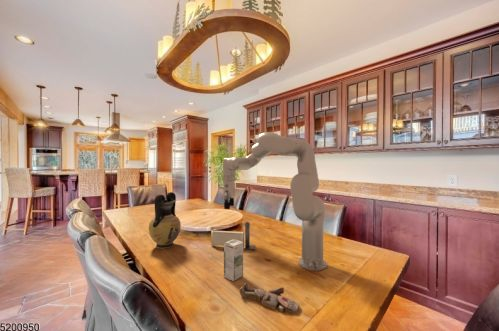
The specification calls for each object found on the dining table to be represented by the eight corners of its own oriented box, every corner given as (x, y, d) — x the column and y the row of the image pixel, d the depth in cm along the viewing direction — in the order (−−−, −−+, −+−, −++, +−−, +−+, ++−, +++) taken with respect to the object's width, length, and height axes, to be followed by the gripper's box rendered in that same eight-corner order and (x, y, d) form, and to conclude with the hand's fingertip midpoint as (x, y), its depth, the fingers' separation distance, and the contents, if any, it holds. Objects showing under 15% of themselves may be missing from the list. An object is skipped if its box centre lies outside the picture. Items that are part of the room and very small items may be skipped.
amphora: (170, 253, 118) (169, 195, 117) (141, 250, 121) (141, 195, 121) (186, 241, 135) (185, 191, 135) (160, 239, 139) (160, 190, 138)
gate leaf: (243, 247, 123) (243, 233, 123) (211, 245, 126) (210, 231, 126) (244, 246, 125) (244, 232, 125) (212, 244, 128) (212, 230, 128)
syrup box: (233, 272, 97) (233, 238, 97) (243, 276, 94) (243, 241, 93) (223, 277, 93) (223, 242, 93) (234, 282, 89) (233, 245, 89)
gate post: (253, 250, 121) (253, 223, 120) (244, 250, 122) (243, 223, 121) (255, 247, 125) (255, 221, 125) (245, 246, 126) (245, 220, 126)
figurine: (247, 276, 84) (301, 291, 75) (247, 289, 84) (300, 306, 75) (238, 286, 78) (295, 304, 69) (238, 300, 78) (295, 320, 69)
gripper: (231, 179, 125) (231, 210, 125) (238, 177, 142) (238, 204, 142) (218, 179, 126) (218, 210, 127) (227, 177, 143) (227, 204, 144)
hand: (229, 207), depth 135 cm, fingers open, 9 cm apart
